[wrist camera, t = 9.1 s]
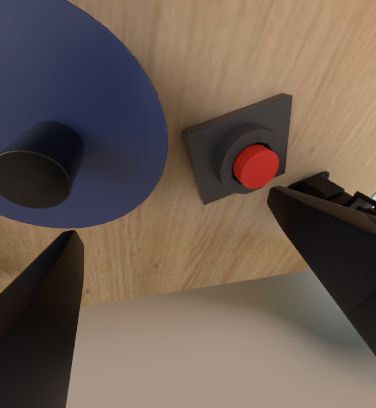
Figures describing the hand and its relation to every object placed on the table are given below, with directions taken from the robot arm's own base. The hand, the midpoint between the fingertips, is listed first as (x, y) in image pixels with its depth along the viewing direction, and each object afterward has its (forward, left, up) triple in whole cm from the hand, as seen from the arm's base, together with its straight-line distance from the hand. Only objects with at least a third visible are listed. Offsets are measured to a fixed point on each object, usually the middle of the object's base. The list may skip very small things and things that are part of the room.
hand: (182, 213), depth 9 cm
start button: (-5, -8, -9) cm, 14 cm away
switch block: (-5, -8, -12) cm, 16 cm away
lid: (+3, +5, -6) cm, 8 cm away
